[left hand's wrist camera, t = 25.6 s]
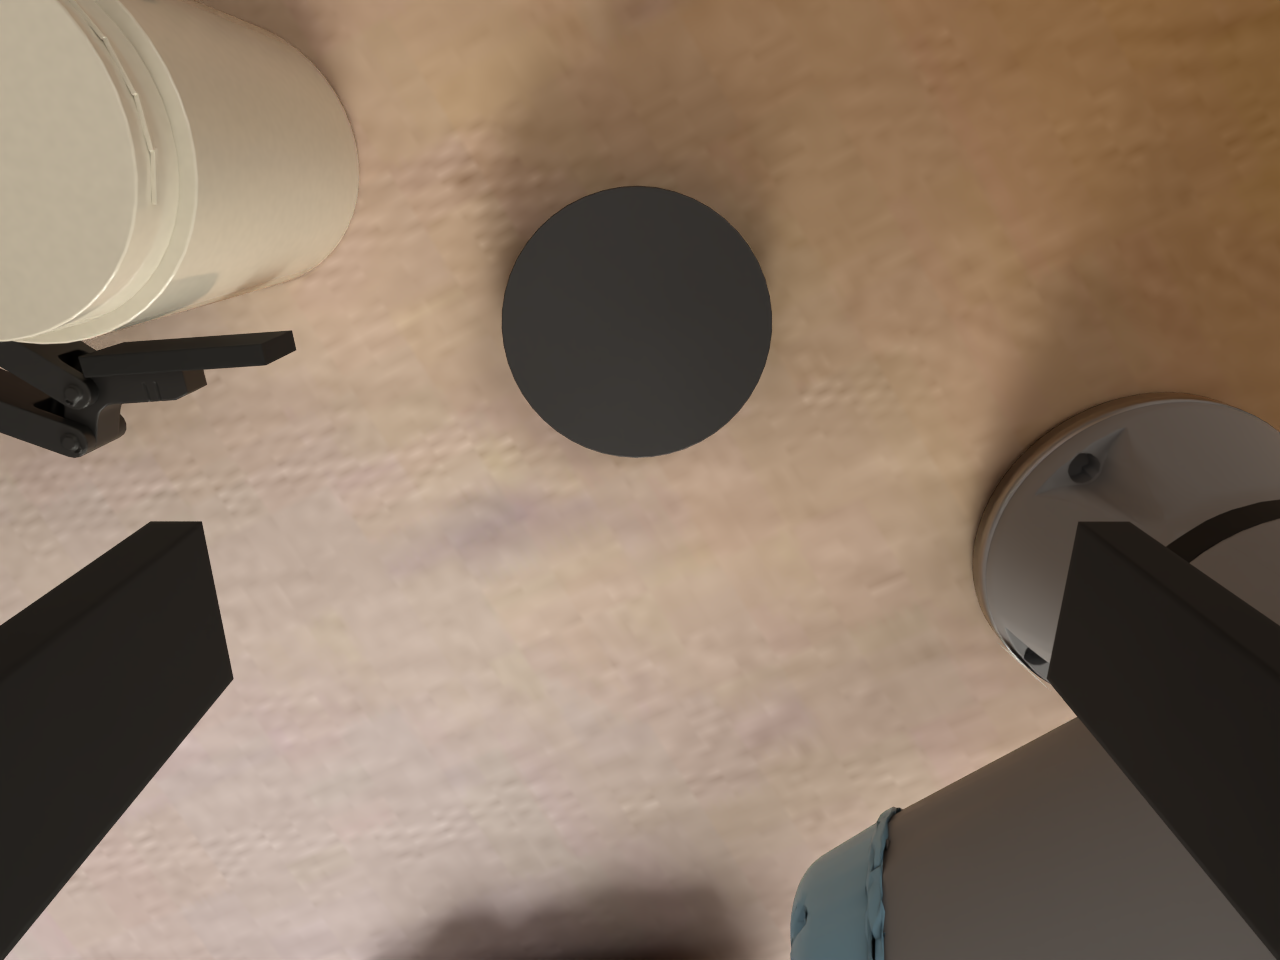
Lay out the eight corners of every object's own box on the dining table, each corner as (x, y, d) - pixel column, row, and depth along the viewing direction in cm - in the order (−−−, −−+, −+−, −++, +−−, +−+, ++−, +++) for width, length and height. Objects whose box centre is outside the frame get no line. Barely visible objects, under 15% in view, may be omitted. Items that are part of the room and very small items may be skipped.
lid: (550, 467, 38) (545, 483, 36) (475, 224, 34) (465, 227, 32) (786, 410, 37) (794, 423, 35) (735, 154, 34) (741, 152, 31)
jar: (280, -29, 31) (-24, -205, 17) (403, 233, 35) (236, 270, 20) (53, 79, 33) (-408, 0, 18) (193, 321, 36) (-103, 416, 22)
